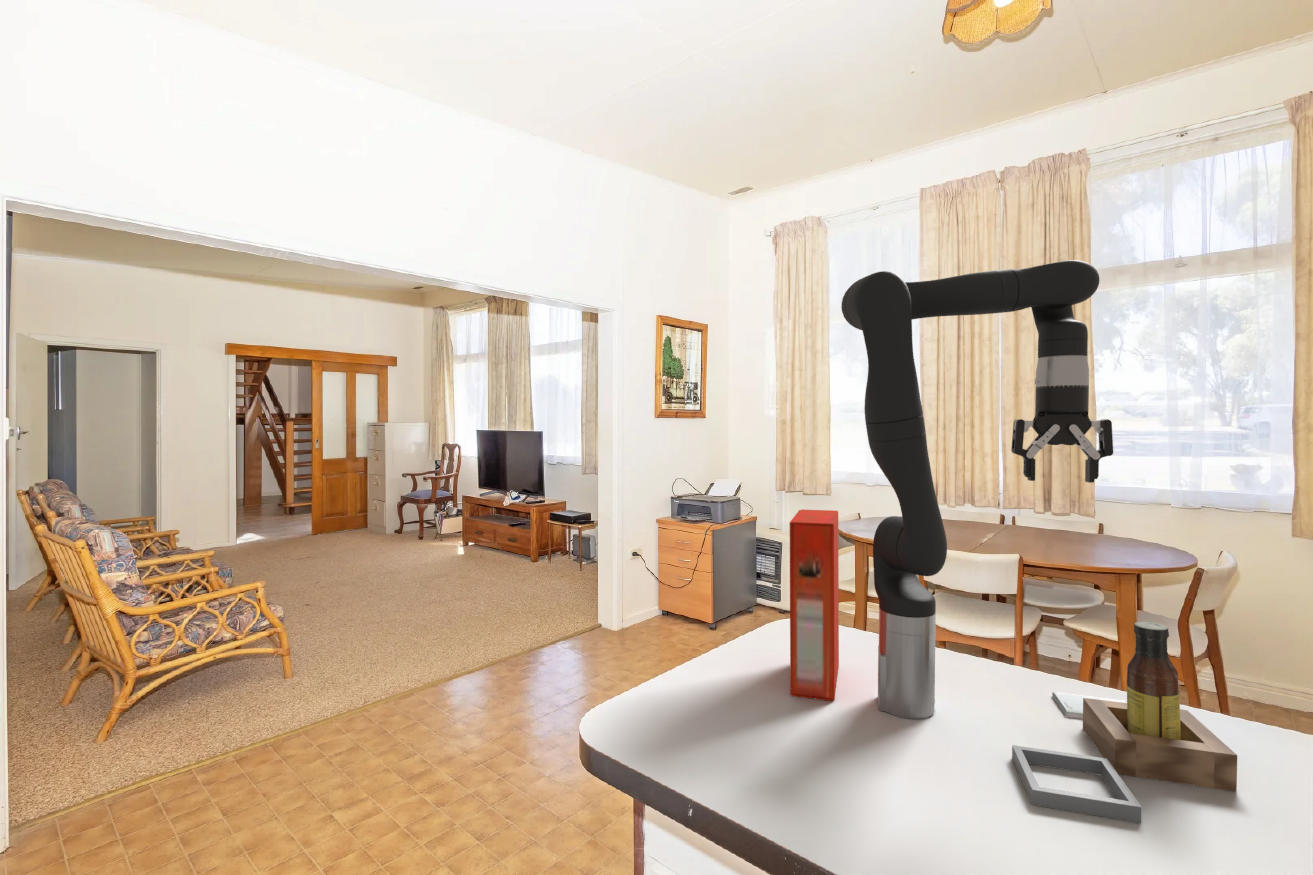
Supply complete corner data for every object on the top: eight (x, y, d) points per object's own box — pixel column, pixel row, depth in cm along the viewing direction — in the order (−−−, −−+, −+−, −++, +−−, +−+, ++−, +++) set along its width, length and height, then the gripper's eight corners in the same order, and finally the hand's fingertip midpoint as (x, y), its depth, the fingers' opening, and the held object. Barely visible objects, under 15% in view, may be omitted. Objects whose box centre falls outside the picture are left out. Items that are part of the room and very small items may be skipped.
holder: (1114, 773, 90) (1115, 738, 90) (1082, 728, 103) (1083, 697, 103) (1236, 791, 85) (1237, 755, 85) (1186, 741, 99) (1187, 710, 99)
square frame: (1032, 804, 83) (1032, 789, 82) (1012, 758, 94) (1012, 744, 94) (1141, 822, 79) (1141, 807, 79) (1106, 772, 90) (1106, 758, 90)
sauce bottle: (1173, 751, 96) (1176, 622, 95) (1187, 772, 90) (1190, 634, 90) (1120, 742, 98) (1123, 616, 98) (1130, 762, 93) (1133, 628, 92)
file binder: (788, 695, 115) (789, 521, 115) (798, 661, 132) (799, 509, 131) (834, 701, 113) (835, 523, 112) (838, 666, 129) (839, 510, 128)
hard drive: (1066, 710, 107) (1153, 720, 103) (1052, 690, 115) (1132, 699, 111) (1066, 720, 107) (1153, 730, 103) (1052, 699, 115) (1132, 708, 111)
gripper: (1018, 384, 104) (1017, 482, 105) (1120, 382, 100) (1118, 484, 100) (1009, 386, 111) (1007, 478, 112) (1103, 385, 107) (1101, 480, 107)
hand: (1060, 481), depth 106 cm, fingers open, 8 cm apart
